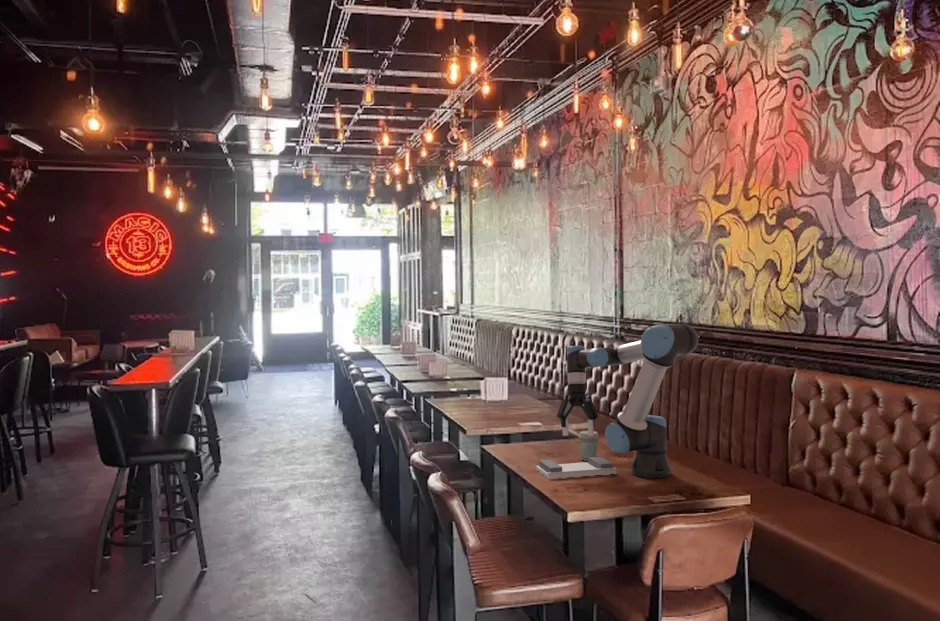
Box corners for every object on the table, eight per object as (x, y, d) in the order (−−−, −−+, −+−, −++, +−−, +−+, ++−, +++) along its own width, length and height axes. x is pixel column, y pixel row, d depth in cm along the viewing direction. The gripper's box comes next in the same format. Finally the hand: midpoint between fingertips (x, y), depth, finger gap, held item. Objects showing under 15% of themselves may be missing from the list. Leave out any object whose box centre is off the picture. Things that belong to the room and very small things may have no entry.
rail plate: (600, 464, 304) (599, 455, 304) (616, 474, 288) (616, 464, 288) (535, 469, 297) (535, 459, 297) (548, 479, 282) (548, 469, 282)
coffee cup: (574, 460, 313) (574, 432, 312) (587, 456, 318) (587, 429, 318) (590, 463, 306) (590, 435, 306) (603, 460, 312) (602, 432, 311)
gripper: (593, 385, 312) (594, 435, 308) (547, 382, 298) (548, 435, 295) (605, 384, 306) (607, 435, 302) (559, 381, 292) (560, 435, 288)
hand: (578, 435), depth 298 cm, fingers open, 13 cm apart
